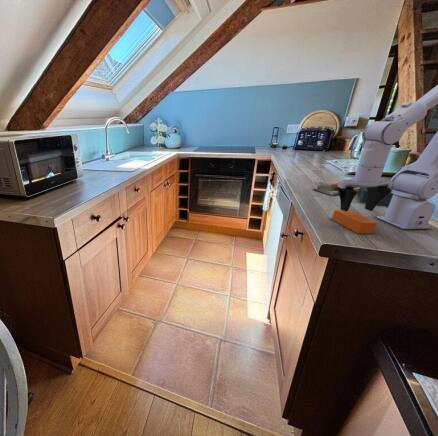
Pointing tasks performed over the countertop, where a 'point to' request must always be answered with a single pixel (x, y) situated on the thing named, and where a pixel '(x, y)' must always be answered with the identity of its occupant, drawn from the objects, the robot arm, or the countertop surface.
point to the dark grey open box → (364, 194)
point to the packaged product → (330, 187)
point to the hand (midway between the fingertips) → (356, 210)
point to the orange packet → (354, 221)
